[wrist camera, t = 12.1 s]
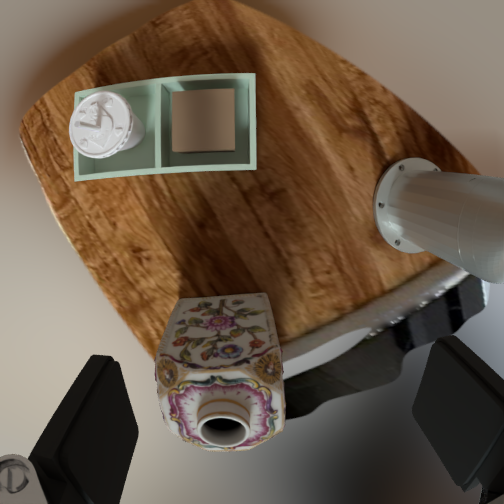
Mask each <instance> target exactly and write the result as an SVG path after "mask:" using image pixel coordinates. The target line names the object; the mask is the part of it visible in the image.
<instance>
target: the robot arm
mask: <svg viewBox="0 0 504 504" xmlns="http://www.w3.org/2000/svg"><path fill="white" fill-rule="evenodd" d="M399 167H400V169H399ZM379 203H380V206H379ZM373 213H374V219H375V223H376V226H377V228H378V230H379V233H380V234H381V235H382V237H383V238H384V240H385V241H386V242H387V243H388V244H390V245H391V246H392V247H394V248H396V249H398V250H400V251H402V252H406V253H419V252H423V251H425V250H426V251H428V252H430V253H432V254H434V255H436V256H438V257H440V258H442V259H444V260H446V261H448V262H450V263H452V264H454V265H455V266H457V267H459V268H461V269H463V270H465V271H467V272H469V273H471V274H473V275H475V276H476V277H478V278H480V279H482V280H484V281H487V282H490V283H496V284H499V283H504V178H498V177H490V176H482V175H473V174H463V173H453V172H442V171H441V170H440V169H439V168H438V167H437V166H436V165H435V164H434V163H432V162H430V161H428V160H426V159H422V158H405V159H402V160H399V161H397V162H396V163H394V164H393V165H391V166H390V167H389V168H388V169H387V170H386V171H385V172H384V174H383V175H382V177H381V178H380V180H379V182H378V184H377V187H376V190H375V194H374V200H373ZM395 241H396V242H395ZM412 414H413V416H414V418H415V420H416V421H417V423H418V424H419V426H420V428H421V429H422V431H423V432H424V434H425V435H426V437H427V439H428V440H429V442H430V443H431V445H432V447H433V448H434V450H435V451H436V453H437V455H438V456H439V457H440V459H441V461H442V463H443V464H444V466H445V468H446V469H447V471H448V472H449V474H450V476H451V477H452V479H453V481H454V482H455V484H456V485H458V486H461V488H462V490H463V491H464V492H466V491H468V490H470V489H472V488H474V487H476V486H477V485H478V484H479V483H481V484H482V491H481V496H480V500H479V504H504V380H503V379H502V378H501V377H500V376H499V375H498V374H497V373H496V372H495V371H494V370H493V369H491V368H490V367H489V366H488V365H487V364H486V363H485V362H484V361H483V360H482V359H481V358H480V357H479V356H477V355H476V354H475V353H474V352H473V351H472V350H471V349H470V348H469V347H467V346H466V345H465V344H464V343H463V342H462V341H460V339H458V338H457V337H456V336H454V335H450V336H445V337H440V338H438V339H437V340H436V341H435V343H434V344H433V345H432V347H431V350H430V354H429V357H428V361H427V364H426V368H425V371H424V374H423V377H422V381H421V384H420V387H419V390H418V393H417V396H416V398H415V401H414V404H413V407H412ZM138 433H139V431H138V425H137V422H136V419H135V416H134V413H133V410H132V406H131V403H130V400H129V397H128V393H127V389H126V387H125V382H124V379H123V375H122V371H121V367H120V364H119V362H117V361H114V359H113V358H112V357H111V356H103V355H92V356H91V357H90V359H89V360H88V361H87V363H86V364H85V366H84V367H83V369H82V370H81V372H80V373H79V375H78V377H77V378H76V380H75V381H74V383H73V384H72V386H71V387H70V389H69V391H68V392H67V394H66V395H65V397H64V398H63V400H62V402H61V403H60V405H59V406H58V408H57V410H56V411H55V413H54V414H53V416H52V418H51V419H50V421H49V423H48V424H47V426H46V428H45V429H44V431H43V433H42V435H41V436H40V438H39V440H38V441H37V443H36V445H35V447H34V448H33V450H32V452H31V454H30V456H29V457H28V459H27V458H25V457H23V456H21V455H15V454H11V455H4V456H2V457H0V504H119V503H120V499H121V495H122V492H123V488H124V484H125V481H126V477H127V473H128V470H129V467H130V463H131V460H132V456H133V453H134V449H135V446H136V443H137V439H138Z"/></svg>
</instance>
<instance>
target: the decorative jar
mask: <svg viewBox="0 0 504 504" xmlns="http://www.w3.org/2000/svg"><path fill="white" fill-rule="evenodd" d="M282 352H283V351H282V349H281V348H280V345H279V341H278V336H277V331H276V326H275V322H274V317H273V313H272V309H271V305H270V301H269V298H268V296H267V294H266V293H254V294H236V295H225V296H213V297H201V298H183V299H179V300H178V301H177V303H176V305H175V307H174V309H173V311H172V314H171V316H170V319H169V321H168V324H167V327H166V329H165V332H164V334H163V336H162V339H161V342H160V345H159V348H158V351H157V354H156V357H155V360H154V361H155V380H156V382H157V393H158V399H159V404H160V408H161V412H162V414H163V419H164V421H165V423H166V425H167V427H168V429H169V430H170V431H171V432H172V433H174V434H175V435H177V436H178V437H180V438H181V439H182V440H183V441H185V442H189V443H191V444H193V445H195V446H198V447H200V448H202V449H204V450H206V451H244V450H249V449H252V448H254V447H255V446H257V445H259V444H261V443H263V442H265V441H266V440H268V439H271V438H273V437H275V435H277V434H278V433H280V432H282V431H283V428H284V426H285V408H286V402H285V393H284V382H283V378H282V375H283V372H284V371H283V365H282Z"/></svg>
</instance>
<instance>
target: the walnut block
mask: <svg viewBox="0 0 504 504" xmlns="http://www.w3.org/2000/svg"><path fill="white" fill-rule="evenodd" d="M172 151H173V152H177V153H181V154H187V153H208V152H235V98H234V88H232V89H204V90H188V91H175V92H172Z"/></svg>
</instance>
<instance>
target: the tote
mask: <svg viewBox="0 0 504 504" xmlns="http://www.w3.org/2000/svg"><path fill="white" fill-rule="evenodd" d="M232 88H234V98H235V152H208V153H187V154H181V153H177V152H173V151H172V92H175V91H188V90H204V89H232ZM98 91H111V92H114V93H117V94H119V95H121V96H122V97H124V98H125V99H126V100H127V102H128V103H129V104H130V106H131V109H132V112H133V113H134V114H135V115H136V116H137V117H138V118H139V120H140V121H141V122H142V123H143V124H144V127H145V137H144V139H143V141H142V142H141V143H140V144H139V145H138V146H136V147H134V148H130V149H126V150H122V151H118V152H116V153H115V154H113V155H111V156H109V157H105V158H101V159H100V158H91V157H87V156H84V155H82V154H81V153H80V152H78V151H77V150H76V148H75V147H74V178H75V181H83V180H92V179H101V178H111V177H121V176H133V175H145V174H159V173H176V172H195V171H223V170H256V94H255V73H230V74H204V75H189V76H176V77H166V78H157V79H149V80H141V81H134V82H127V83H121V84H115V85H109V86H104V87H98V88H93V89H88V90H84V91H79V92H75V103H74V110H75V108H76V107H77V105H78V104H79V103H80V102H81V101H82V100H83V99H84V98H85V97H87V96H88V95H90V94H92V93H94V92H98Z"/></svg>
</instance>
